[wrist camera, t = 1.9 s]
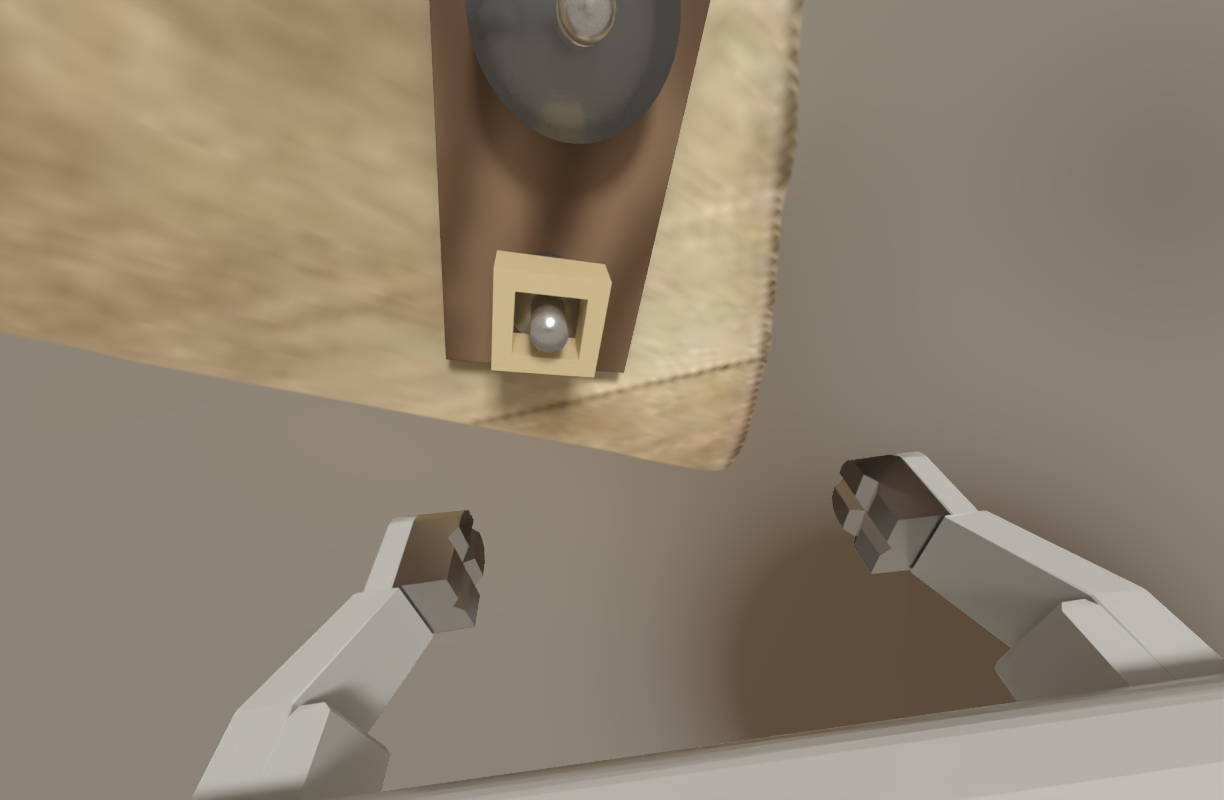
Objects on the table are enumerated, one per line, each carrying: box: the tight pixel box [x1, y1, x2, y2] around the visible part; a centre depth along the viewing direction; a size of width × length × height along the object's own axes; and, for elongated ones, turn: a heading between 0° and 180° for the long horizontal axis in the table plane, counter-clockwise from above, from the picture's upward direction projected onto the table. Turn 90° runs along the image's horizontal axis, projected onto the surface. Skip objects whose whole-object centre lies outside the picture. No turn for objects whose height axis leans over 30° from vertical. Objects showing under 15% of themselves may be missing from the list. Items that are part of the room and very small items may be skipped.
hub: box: [465, 0, 681, 144], centre depth 19 cm, size 10×10×9 cm
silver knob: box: [514, 252, 581, 353], centre depth 28 cm, size 5×5×7 cm
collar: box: [491, 250, 612, 378], centre depth 27 cm, size 7×7×3 cm
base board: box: [429, 0, 710, 373], centre depth 27 cm, size 14×28×2 cm, turn 170°
